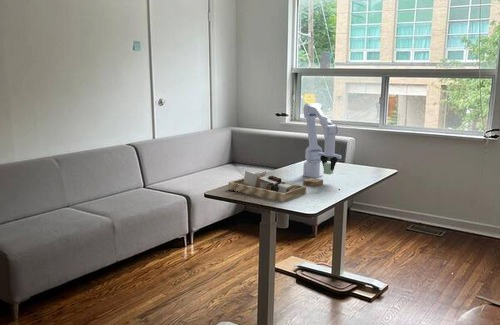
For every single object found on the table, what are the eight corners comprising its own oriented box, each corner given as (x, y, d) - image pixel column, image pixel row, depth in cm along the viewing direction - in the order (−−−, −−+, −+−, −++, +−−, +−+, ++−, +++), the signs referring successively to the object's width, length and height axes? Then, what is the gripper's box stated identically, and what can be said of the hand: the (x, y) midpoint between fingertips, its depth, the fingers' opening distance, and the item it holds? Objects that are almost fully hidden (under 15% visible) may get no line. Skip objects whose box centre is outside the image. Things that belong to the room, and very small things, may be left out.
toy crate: (228, 189, 256) (228, 182, 256) (252, 182, 272) (252, 176, 271) (283, 202, 234) (284, 194, 233) (306, 193, 249) (306, 186, 248)
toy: (300, 199, 251) (252, 182, 266) (303, 182, 249) (254, 166, 263) (289, 204, 241) (240, 187, 256) (292, 187, 238) (242, 170, 253)
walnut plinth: (303, 185, 269) (303, 180, 268) (310, 182, 275) (311, 177, 274) (315, 187, 264) (315, 182, 263) (322, 185, 270) (323, 179, 269)
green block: (323, 173, 271) (323, 163, 270) (327, 172, 274) (327, 162, 273) (329, 174, 268) (330, 164, 267) (333, 173, 271) (333, 163, 270)
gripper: (314, 145, 269) (313, 168, 272) (337, 148, 260) (336, 172, 263) (321, 143, 275) (320, 166, 278) (343, 146, 266) (342, 170, 269)
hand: (328, 169), depth 271 cm, fingers closed on green block, 4 cm apart
